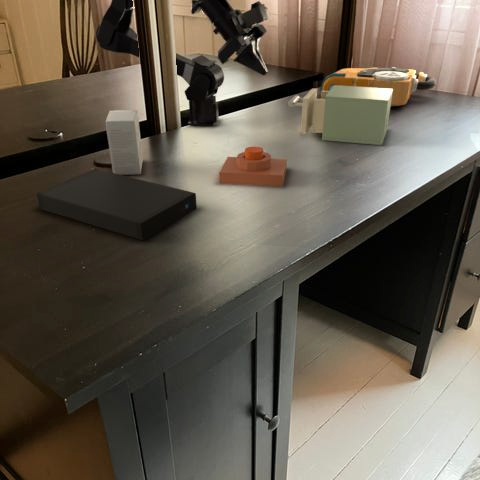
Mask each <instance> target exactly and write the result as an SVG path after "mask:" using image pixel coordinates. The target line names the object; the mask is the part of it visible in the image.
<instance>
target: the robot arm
mask: <svg viewBox="0 0 480 480" xmlns="http://www.w3.org/2000/svg"><path fill="white" fill-rule="evenodd" d="M190 3H191V8H190V9H191V10H190V13H191V15H196V14H198V13H200V12H202V14H203V15H204V16H205V18H206V19H207V20H208V21H209V22H210V24H211V25H212V26H213V28H214V29H213V31H212V32H213V33H214V34H215V35H219V36H220V37H221V39H222V40H223V41H224V42H225V43H224V44H223V45H222V46H220V48H219V49H218V50H217V57H216V58H217V59H218V61H219V62H220V63H221V65H225V64H227V63H228V62H229V61H230V60H229V59H230V58H231V57H232V56H233V55H234V54H235V55H236V57H235V58H234V59H233V62H234V63H238V64H240V65H242V66H244V67H246V68H248V69H250V70H252V71H254V72H256V73H258V74H259V75H261V76H266V75H267V74H268V72H269V70H268V68H267V66H266V63H265V61H264V59H263V56H262V53H261V50H260V43H261V40H262V39H261V38H263V36H265V34H266V33H267V32H268V30H267V29H266V27H264V25H263V24H262V23H263V22H265V21H267V20H269V16H268V13H267V12H268V7H267V6H265V3H262V2H261V1H260V0H258V1H256V2H254V3H252V4H251V5H250V9H249V10H247V11H244V12H242V11H241V10H240V9H235V8H233V6H232V5H231V4H230V2H229V0H191V2H190ZM133 12H134V9H133V1H132V0H111V2H110V5H108V8H107V10H106V11H105V13H104V15H103V17H102V19H101V22H100V24H99V25H98V26H97V27H96V30H95V38H96V41H97V44H98V46H99V47H100V48H101V49H102V50H105V51H109V52H114V53H117V54H119V53H120V54H126V55H127V54H128V55H132V56H134V57H136V58H139V48H138V40H137V35H138V33H136V31H135V30H134V29H133V28H132V27H131V26H132V23H133ZM175 53H176V52H175ZM139 59H140V58H139ZM218 61H217V60H212V59H209V58H208V57H206V56H205V55H203V54H200V55H198V56H196V57H194V58H192V59H190V58H188V57H185V56H184V55H181V54H179V53H176V65H177V75H176V76H179V77H181V78H182V79H183V80H184V81H185V82H186V83H187V85H188V86H187V88H186V89H185V90H184V96H185V98H186V100H187V101H188V107H189V108H188V109H189V121H188V123H187V124H188V125H189V126H204V127H207V126H208V127H213V126H215V125H216V123H217V122H218V120H219V102H217V95H216V94H217V93H218V90H219V88H220V87H221V86H222V85H223V84H224V81H225V73H224V71H223V68H222V67H221V66H220V65H219V64H218V63H217V62H218Z"/></svg>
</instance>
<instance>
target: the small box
mask: <svg viewBox="0 0 480 480" xmlns="http://www.w3.org/2000/svg"><path fill="white" fill-rule="evenodd" d="M104 124H105V129H106V135H107V142H108V149H109V155H110V156H109V157H110V162H111V168H112V173H115V174H119V175H123V176H128V175H129V176H131V175H133V176H134V175H141V174H142V167H143V161H144V157H143V148H142V139H141V130H140V122H139V112H138V110H137V109H124V110H123V109H118V110H109V112H108V114H107V117H106V119H105V123H104Z"/></svg>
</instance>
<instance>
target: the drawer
mask: <svg viewBox="0 0 480 480" xmlns="http://www.w3.org/2000/svg"><path fill="white" fill-rule="evenodd" d="M329 92H330V91H321V90H320V98H317V95H318V88H315V87H314V88H311V89H310V90H309V91H308V92H307V94H305V95H304V97H300V96H299V95H297V94H295V95H294V96H293V97H292V98H291V99H290V100H289V101H288V102H287V106H288V107H289V108H293V107H294V106H296V107H302V108H301V121H300V122H301V123H300V134H301V135H302V134H303V135H306V134H307V133H308V132H309V130H310V129H311V128H312V129H311V133H316V134H323V121H324V109H325V97H326V95H327V94H328V93H329ZM299 101H300V102H299Z"/></svg>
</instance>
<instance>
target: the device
mask: <svg viewBox="0 0 480 480" xmlns="http://www.w3.org/2000/svg"><path fill="white" fill-rule="evenodd" d="M436 84H437V81H436V78H435V77H433V76H428V74H427V73H424V72H422V71H420V72H419V73H416V70H415V69H409V68H408V69H407V68H400V67H399V68H398V67H395V66H392V67H367V68H363V67H362V68H361V67H348V68H341V69H340V70H337V71H335V72H333V73H331V74H329V75H327V76H326V77H325V78H324V79H323V81H322V83H321V86H320V92H321V91H330V90H331V89H332V88H333V87H334V85H339V86H356V87H372V88H389V89H393V92H392V100H391V106H390V108H391V107H399V106H406V105H407V104H408V100H410V97H411V95H413V94H414V92H417V91H424V90H431V89H433V88H434V87H435V86H436Z"/></svg>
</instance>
